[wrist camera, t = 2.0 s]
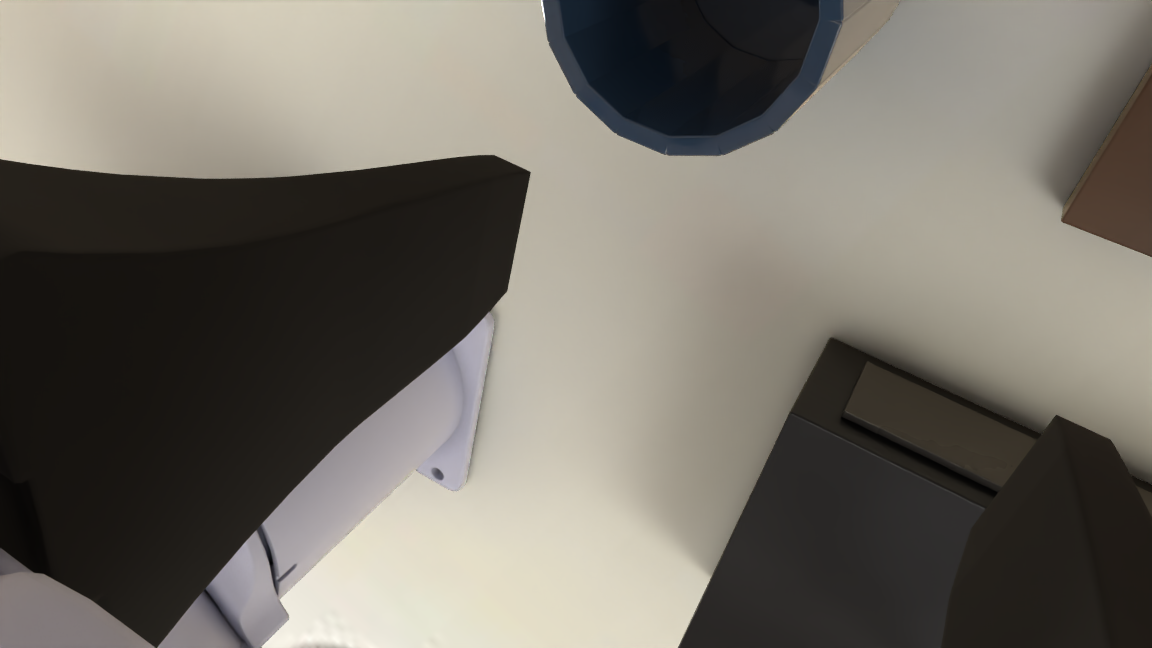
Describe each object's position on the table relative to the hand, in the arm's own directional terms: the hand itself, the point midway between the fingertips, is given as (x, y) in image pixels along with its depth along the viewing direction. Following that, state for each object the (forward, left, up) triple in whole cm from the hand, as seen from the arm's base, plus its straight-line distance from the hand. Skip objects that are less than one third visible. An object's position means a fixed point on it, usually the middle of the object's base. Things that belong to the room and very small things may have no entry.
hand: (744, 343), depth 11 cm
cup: (-3, +3, -10) cm, 10 cm away
